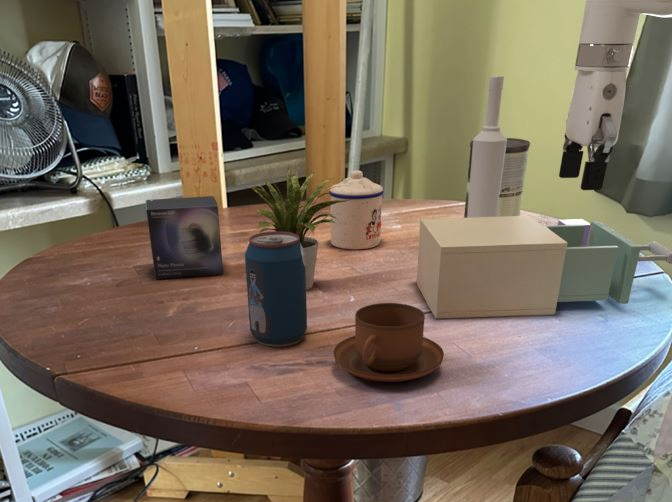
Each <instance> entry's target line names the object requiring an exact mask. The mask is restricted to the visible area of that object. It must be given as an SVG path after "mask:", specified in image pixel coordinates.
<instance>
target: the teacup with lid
mask: <svg viewBox="0 0 672 502" xmlns="http://www.w3.org/2000/svg"><path fill="white" fill-rule="evenodd" d="M349 175H350V177H346V178H344V179H343V180H341V181H340V182H339V183H336V184H333V185H332V186H331V187H334V188H330V187H329V188H330V189H329V191H328V193H332V194H329V195H330V201H334V200H351V201H346V202H340V203H336V204H333V205H330V214H334V213H337V214H334V215H332V216H334V217H335V218H337V219H338V220H337V219H335V218H333V217H330V220H333V221H334V222H335V223H333V222H330V243H331V245H332V246H334V247H336V248H339V249H343V250H367V249H372V248H374V247H377V246H378V245H380V243H381V240H382V239H381V234H382V208H383V207H382V205H383V204H382V203H383V194H384V189H383V186H382V185H380V184H378V183H375V182H373V181H371V180H370V179H369V178H367V177H364V176H363V171H361V170H351V172H350V174H349ZM335 186H340V187H335ZM336 223H337V224H336Z"/></svg>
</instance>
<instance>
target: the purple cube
mask: <svg viewBox="0 0 672 502" xmlns="http://www.w3.org/2000/svg"><path fill="white" fill-rule="evenodd" d="M581 224H583V225H585V230H584V235H583V241H582V246H581V247H586V246H587V241H588V236H589V230H590V225H591V223H589V222H588V221H586V220H584V219H583V218H573V219H571V218H570V219H558V221H557V225H581Z"/></svg>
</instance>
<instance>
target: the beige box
mask: <svg viewBox="0 0 672 502" xmlns="http://www.w3.org/2000/svg"><path fill="white" fill-rule="evenodd" d="M545 226H546V225H544V224H543V223H541V222H540V221H539V220H537V219H536V218H535V217H534V216H532V215H520V216H505V217H473V218H464V217H447V218H446V217H444V218H420V220H419V235H418V238H419V239H418V252H417V266H416V268H417V269H416V281H415V282H416V286H417V287H418V289H419V291H420V293H421V294H422V296H423V298H424V301H425V302H426V304H427V306H428V308H429V309H430V312H431V313H432V314H433V317H434V318H435V319H436V320H437V319H465V318H493V317H495V318H496V317H518V316H521V317H522V316H523V317H524V316H545V315H548V316H549V315H551V316H552V315H556V312H557V311H556V310H557V306H558V302H557V300H558V294H559V289H560V283H561V277H562V272H563V266H564V260H565V254H566V249H567V242H566V241H564V240H563V239H562V238H560V237H559V236H558V235H556V234H555V233H554V232H552V231H551V230H550V229H548V228H547V227H545Z"/></svg>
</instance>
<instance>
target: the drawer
mask: <svg viewBox="0 0 672 502" xmlns="http://www.w3.org/2000/svg"><path fill="white" fill-rule="evenodd" d="M590 224H591V225H590V230H589V236H588V241H587V246H586V247H581V246H582V241H583V235H584V230H585V225H583V224H581V225H558V224H554V225H551V224H550V225H544V226H545V227H547V228H548V229H550V230H551V231H552V232H554V233H555V234H556V235H558V236H559V237H560V238H562V239H563V240H564V241H566V242H567V249H566V254H565V260H564V266H563V272H562V277H561V283H560V289H559V294H558V300H557V303H565V302H591V301H593V302H594V301H608V298H609V297H610V298H611V299H612V300H614V301H615V302H616V303H618V304H619V305H621V304H623V305H625V304H628V303H629V300H630V297H631V291H632V288H633V284H634V279H635V276H636V275H635V274H636V270H637V266H638V262H663V261H664V262H666V263H668V264H670V265H672V249H670V248H668V247H666V246H664V245H662V244H661V243H659V242H657V241H651V242H649V243H648V244H638V243H637V242H634V241H633V240H631V239H630V238H628V237H627V236H625V235H623V234H621V233H620V232H618V231H616V230H614V229H613V228H611V227H609V226H608V225H607V224H604V223H603V222H601V221H599V220H597V221H594V220H592V221H590ZM641 251H648V252H649V253H651V254H652V255H651V254H650V255H640V253H641Z"/></svg>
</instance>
